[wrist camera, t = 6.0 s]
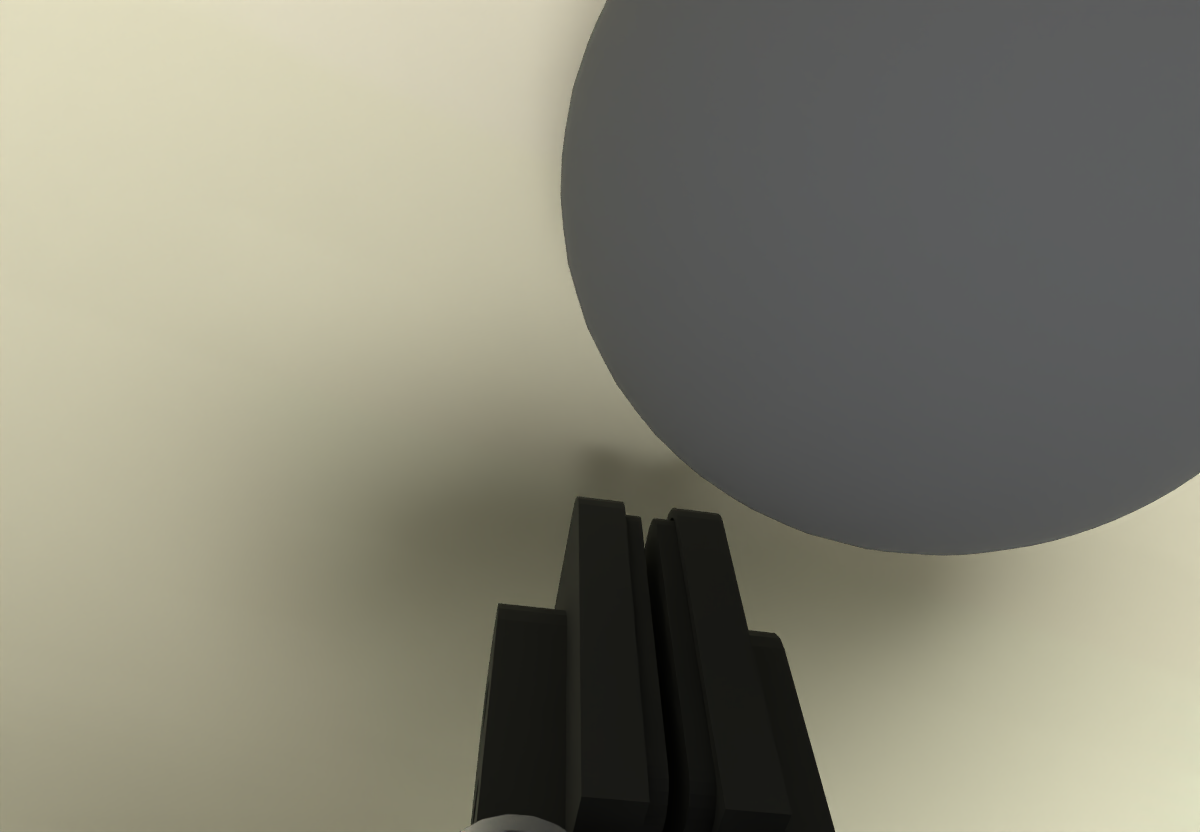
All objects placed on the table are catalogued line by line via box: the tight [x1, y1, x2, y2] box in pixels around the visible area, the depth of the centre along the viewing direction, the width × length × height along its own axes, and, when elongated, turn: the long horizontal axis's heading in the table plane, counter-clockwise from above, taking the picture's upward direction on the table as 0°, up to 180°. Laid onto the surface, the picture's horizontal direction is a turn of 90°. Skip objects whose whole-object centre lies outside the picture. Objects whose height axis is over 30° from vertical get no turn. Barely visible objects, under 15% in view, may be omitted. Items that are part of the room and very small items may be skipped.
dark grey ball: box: [561, 0, 1200, 555], centre depth 7 cm, size 6×6×6 cm
